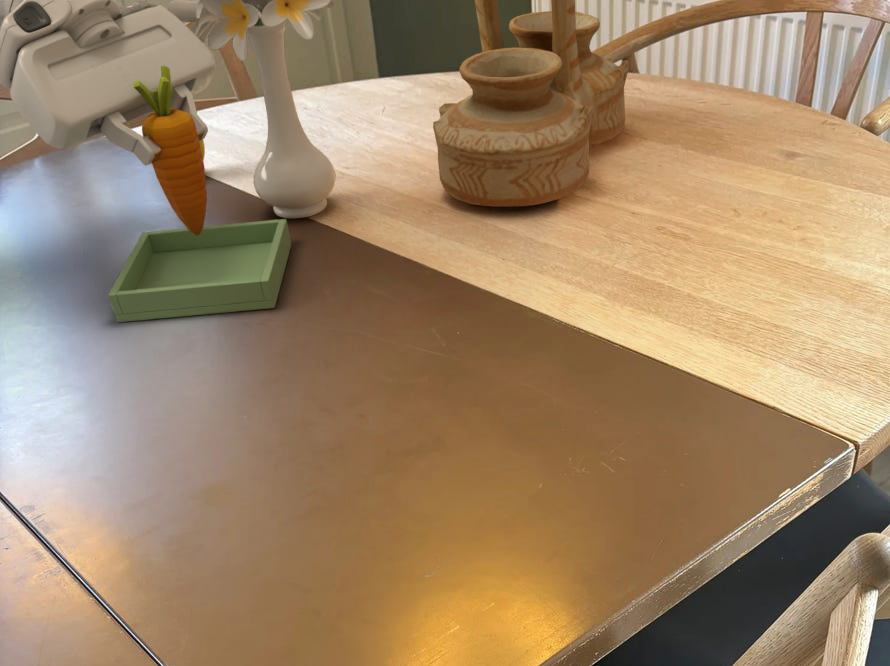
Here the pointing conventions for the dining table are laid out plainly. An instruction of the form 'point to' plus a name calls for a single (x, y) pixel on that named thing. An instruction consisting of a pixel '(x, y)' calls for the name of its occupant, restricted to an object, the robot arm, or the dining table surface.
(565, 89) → the ceramic vessel
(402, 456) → the dining table surface
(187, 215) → the carrot
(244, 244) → the green tray
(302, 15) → the flower vase
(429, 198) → the dining table surface
